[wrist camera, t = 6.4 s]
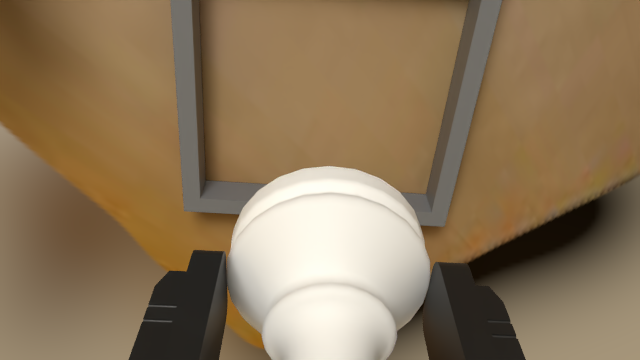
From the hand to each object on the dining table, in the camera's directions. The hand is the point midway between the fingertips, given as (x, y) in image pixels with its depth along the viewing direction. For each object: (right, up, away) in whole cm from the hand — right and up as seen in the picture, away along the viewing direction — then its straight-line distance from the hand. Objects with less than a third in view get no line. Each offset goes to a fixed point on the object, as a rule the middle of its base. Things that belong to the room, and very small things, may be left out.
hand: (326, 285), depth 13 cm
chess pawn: (0, +1, +2) cm, 2 cm away
